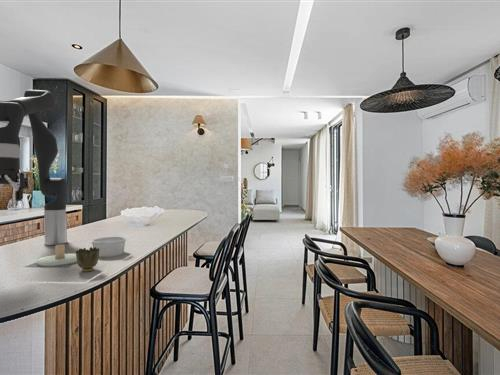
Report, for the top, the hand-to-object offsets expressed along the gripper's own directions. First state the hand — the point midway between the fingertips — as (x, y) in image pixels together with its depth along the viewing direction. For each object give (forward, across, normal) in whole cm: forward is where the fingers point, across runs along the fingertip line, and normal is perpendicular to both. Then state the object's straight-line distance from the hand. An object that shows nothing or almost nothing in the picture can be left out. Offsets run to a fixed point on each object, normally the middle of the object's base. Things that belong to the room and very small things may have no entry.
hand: (7, 200), depth 111 cm
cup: (+25, -33, +4) cm, 41 cm away
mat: (+25, -15, -6) cm, 30 cm away
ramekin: (+25, -28, -20) cm, 42 cm away
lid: (+24, -15, -6) cm, 29 cm away
